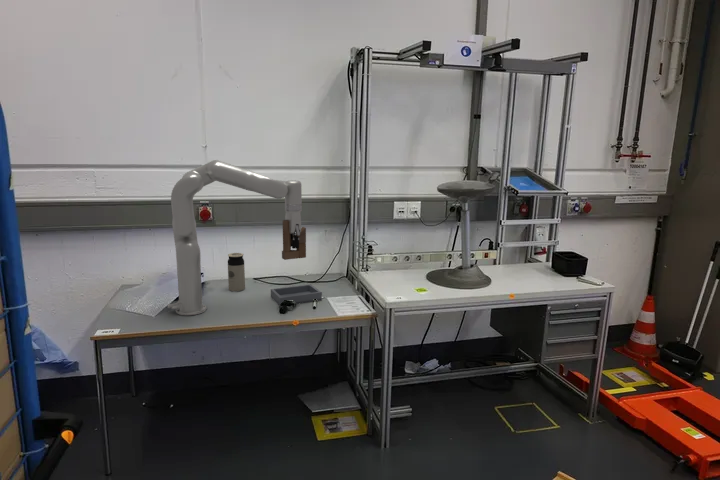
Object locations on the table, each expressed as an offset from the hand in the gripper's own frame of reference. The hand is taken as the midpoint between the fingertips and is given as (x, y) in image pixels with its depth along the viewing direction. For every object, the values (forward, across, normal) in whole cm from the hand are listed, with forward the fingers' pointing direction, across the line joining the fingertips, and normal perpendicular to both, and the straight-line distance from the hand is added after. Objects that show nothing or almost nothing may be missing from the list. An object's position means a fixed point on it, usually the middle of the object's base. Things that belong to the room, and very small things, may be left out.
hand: (293, 246), depth 222 cm
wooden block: (+5, 0, 0) cm, 5 cm away
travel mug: (+26, -26, -21) cm, 43 cm away
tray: (+25, -1, +1) cm, 26 cm away
